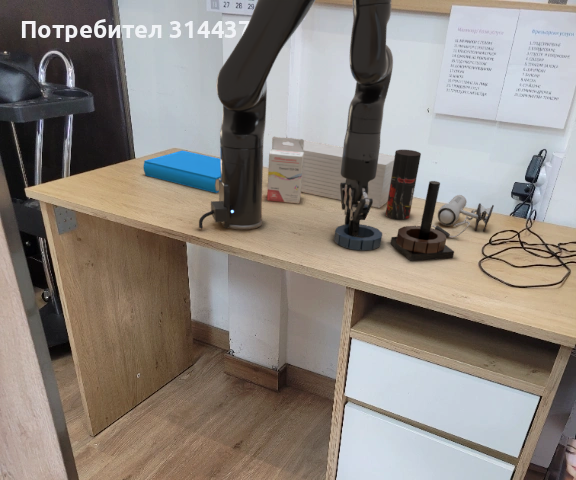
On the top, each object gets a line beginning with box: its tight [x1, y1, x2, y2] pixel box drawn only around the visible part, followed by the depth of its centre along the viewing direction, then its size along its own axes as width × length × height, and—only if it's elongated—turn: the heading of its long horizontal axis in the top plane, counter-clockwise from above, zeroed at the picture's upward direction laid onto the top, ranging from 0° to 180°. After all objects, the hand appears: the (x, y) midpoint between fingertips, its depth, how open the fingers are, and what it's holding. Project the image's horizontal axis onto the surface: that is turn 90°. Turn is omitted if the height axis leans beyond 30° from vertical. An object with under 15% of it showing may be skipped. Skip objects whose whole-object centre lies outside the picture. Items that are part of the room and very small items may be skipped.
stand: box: [390, 180, 455, 262], centre depth 116 cm, size 10×10×14 cm
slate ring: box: [333, 223, 383, 251], centre depth 122 cm, size 10×10×2 cm
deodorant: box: [385, 149, 422, 221], centre depth 134 cm, size 6×6×15 cm
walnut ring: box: [396, 225, 447, 253], centre depth 119 cm, size 10×10×2 cm
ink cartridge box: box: [266, 136, 305, 204], centre depth 140 cm, size 9×5×15 cm, turn 84°
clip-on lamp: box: [431, 194, 495, 239], centre depth 131 cm, size 12×6×18 cm
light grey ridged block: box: [282, 139, 395, 209], centre depth 149 cm, size 32×11×11 cm, turn 63°
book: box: [143, 149, 221, 194], centre depth 155 cm, size 17×4×25 cm
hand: (350, 233), depth 126 cm, fingers closed on slate ring, 2 cm apart
